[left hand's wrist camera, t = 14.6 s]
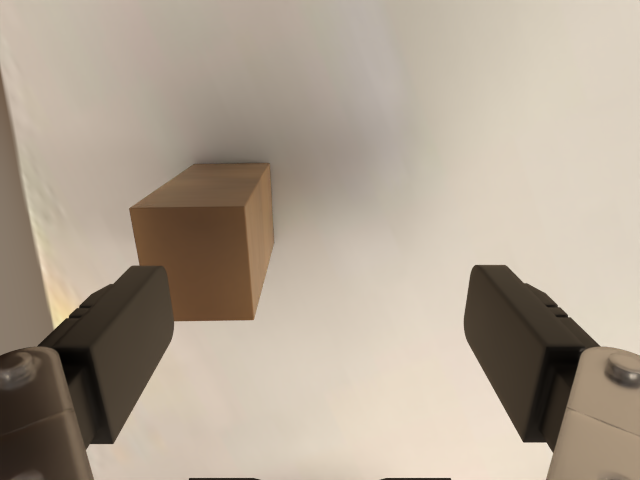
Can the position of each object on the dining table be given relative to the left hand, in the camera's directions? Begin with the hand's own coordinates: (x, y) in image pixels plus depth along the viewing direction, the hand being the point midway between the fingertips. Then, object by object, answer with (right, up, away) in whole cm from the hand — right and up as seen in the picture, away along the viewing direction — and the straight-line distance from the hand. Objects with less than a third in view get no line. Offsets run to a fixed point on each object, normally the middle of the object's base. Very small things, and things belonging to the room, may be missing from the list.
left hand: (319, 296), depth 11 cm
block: (-5, +4, +15) cm, 16 cm away
